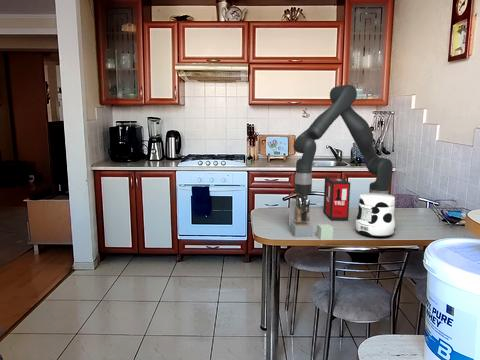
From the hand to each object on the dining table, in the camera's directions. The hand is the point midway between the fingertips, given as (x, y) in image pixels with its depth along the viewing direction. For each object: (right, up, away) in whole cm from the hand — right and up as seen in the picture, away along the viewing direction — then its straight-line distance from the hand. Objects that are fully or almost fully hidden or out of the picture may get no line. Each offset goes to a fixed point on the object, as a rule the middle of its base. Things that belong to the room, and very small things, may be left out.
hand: (301, 218), depth 180 cm
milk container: (+34, -7, +3) cm, 35 cm away
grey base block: (0, -7, +1) cm, 8 cm away
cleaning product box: (+23, -2, +32) cm, 40 cm away
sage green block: (+10, -8, -3) cm, 13 cm away
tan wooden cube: (0, -1, 0) cm, 1 cm away
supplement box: (0, -5, +16) cm, 17 cm away
